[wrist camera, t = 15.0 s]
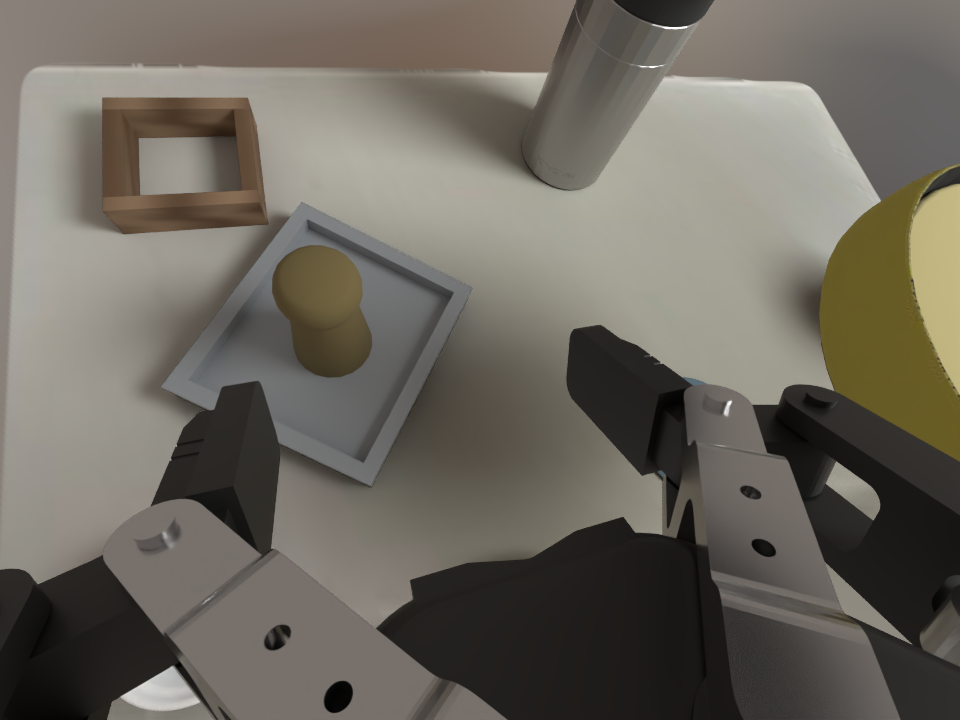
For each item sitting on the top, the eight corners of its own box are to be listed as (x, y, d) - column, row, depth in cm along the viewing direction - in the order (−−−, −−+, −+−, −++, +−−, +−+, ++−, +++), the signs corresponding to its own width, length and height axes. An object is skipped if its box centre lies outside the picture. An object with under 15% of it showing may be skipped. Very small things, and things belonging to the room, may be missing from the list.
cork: (332, 293, 37) (314, 210, 27) (388, 339, 37) (390, 273, 27) (276, 343, 35) (232, 273, 25) (334, 393, 35) (314, 343, 24)
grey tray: (306, 219, 40) (301, 201, 38) (467, 300, 41) (472, 287, 38) (175, 395, 33) (160, 387, 31) (371, 487, 34) (370, 485, 32)
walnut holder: (256, 125, 42) (247, 97, 39) (267, 224, 39) (259, 202, 36) (122, 127, 39) (102, 97, 36) (123, 233, 36) (102, 210, 33)
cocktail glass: (584, 345, 42) (838, 140, 19) (746, 340, 46) (1118, 167, 23) (623, 553, 37) (1044, 626, 13) (802, 526, 41) (1360, 547, 18)
